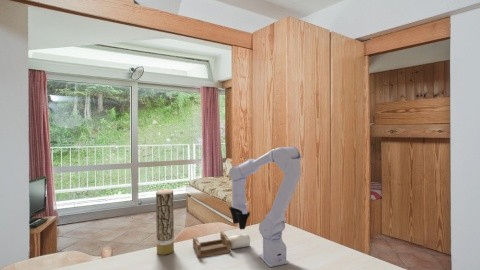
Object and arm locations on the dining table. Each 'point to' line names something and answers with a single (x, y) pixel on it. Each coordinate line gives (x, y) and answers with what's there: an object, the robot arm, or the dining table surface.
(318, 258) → the dining table surface
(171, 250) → the paper tube
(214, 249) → the holder
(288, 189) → the robot arm
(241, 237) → the roll
